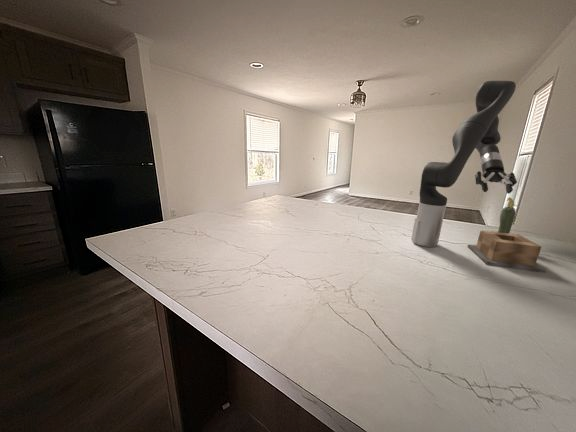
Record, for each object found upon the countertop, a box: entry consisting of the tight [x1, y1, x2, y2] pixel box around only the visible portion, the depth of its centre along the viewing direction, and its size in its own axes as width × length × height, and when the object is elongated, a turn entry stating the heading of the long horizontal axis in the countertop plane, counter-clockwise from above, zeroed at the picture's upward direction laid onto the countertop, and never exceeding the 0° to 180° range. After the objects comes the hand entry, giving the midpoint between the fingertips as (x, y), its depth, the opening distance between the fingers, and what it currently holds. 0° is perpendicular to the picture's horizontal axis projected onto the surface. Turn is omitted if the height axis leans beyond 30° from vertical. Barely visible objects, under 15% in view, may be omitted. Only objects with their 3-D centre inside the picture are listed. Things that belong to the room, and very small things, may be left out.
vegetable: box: [497, 197, 516, 234], centre depth 94 cm, size 4×4×20 cm
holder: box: [467, 230, 547, 274], centre depth 82 cm, size 16×16×8 cm
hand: (497, 191), depth 101 cm, fingers open, 8 cm apart
